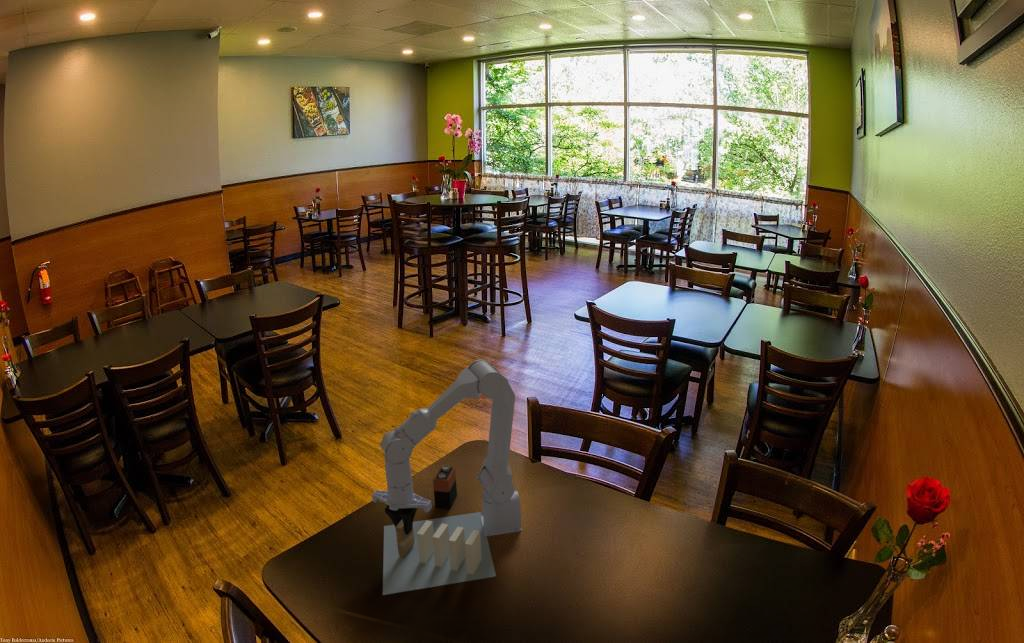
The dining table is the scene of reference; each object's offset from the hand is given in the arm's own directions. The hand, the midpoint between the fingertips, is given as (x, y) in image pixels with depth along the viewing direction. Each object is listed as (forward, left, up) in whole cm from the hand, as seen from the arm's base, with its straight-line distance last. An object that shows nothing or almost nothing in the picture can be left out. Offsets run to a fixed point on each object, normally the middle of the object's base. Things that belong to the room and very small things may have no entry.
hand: (404, 531), depth 139 cm
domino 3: (-12, +7, -6) cm, 15 cm away
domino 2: (-8, +5, -6) cm, 11 cm away
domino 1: (-5, +3, -6) cm, 8 cm away
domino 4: (-15, +9, -6) cm, 18 cm away
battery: (-11, -18, -6) cm, 22 cm away
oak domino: (0, 0, -5) cm, 5 cm away
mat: (-7, +1, -6) cm, 9 cm away
